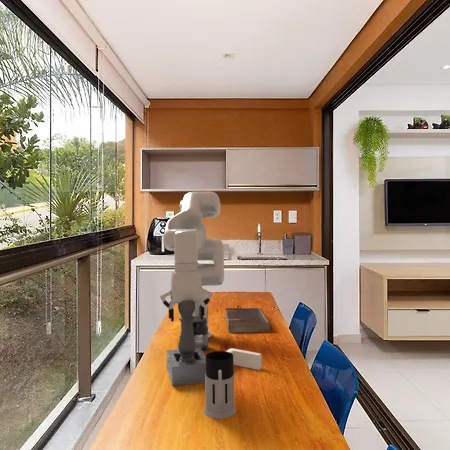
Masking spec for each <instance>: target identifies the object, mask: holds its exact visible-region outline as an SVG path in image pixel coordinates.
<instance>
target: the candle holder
mask: <svg viewBox="0 0 450 450" xmlns="http://www.w3.org/2000/svg"><path fill="white" fill-rule="evenodd" d="M194 309H195V302H193V300H191V301H181V303H177V310H178V313H179V315H180V316H179V317H178V320H179V321H180V334H179V339H178V345H177V350H179V352H180V353H181V354H180V355H181V357H180V359H179V362H180V361H191V360H196V359H195V358H194V356H193V355H194V352H195V350H196V342H195V338H194V334H193V320H194V319H195V317H194V316H192V315H193V313H194Z"/></svg>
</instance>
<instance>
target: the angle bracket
mask: <svg viewBox="0 0 450 450" xmlns="http://www.w3.org/2000/svg"><path fill="white" fill-rule="evenodd" d="M225 351H226V352H230V353H232V354H233V366H237V367H242V368H247V369H248V368H249V369H252V370H258V371H260V370H261V369H262V353H259V352H254V351H248V350H245V349H244V350H243V349H239V348H228V349H227V350H225Z"/></svg>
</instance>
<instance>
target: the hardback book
mask: <svg viewBox="0 0 450 450" xmlns="http://www.w3.org/2000/svg"><path fill="white" fill-rule="evenodd" d="M225 319H226V320H225V321H226V324H227V325H226V326H227V330H228V331H227V332H228V334H234V333H236V334H237V333H238V334H241V333H242V332H244V333H271V323H270V321H269V320H268V318H267V316H266V314H265V312H264V310H263V309H262V308H259V307H258V308H257V307H256V308H255V307H254V308H253V307H252V308H250V307H249V308H248V307H247V308H246V307H245V308H244V307H243V308H241V307H232V308H231V307H230V308H229V307H227V308H225Z"/></svg>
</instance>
